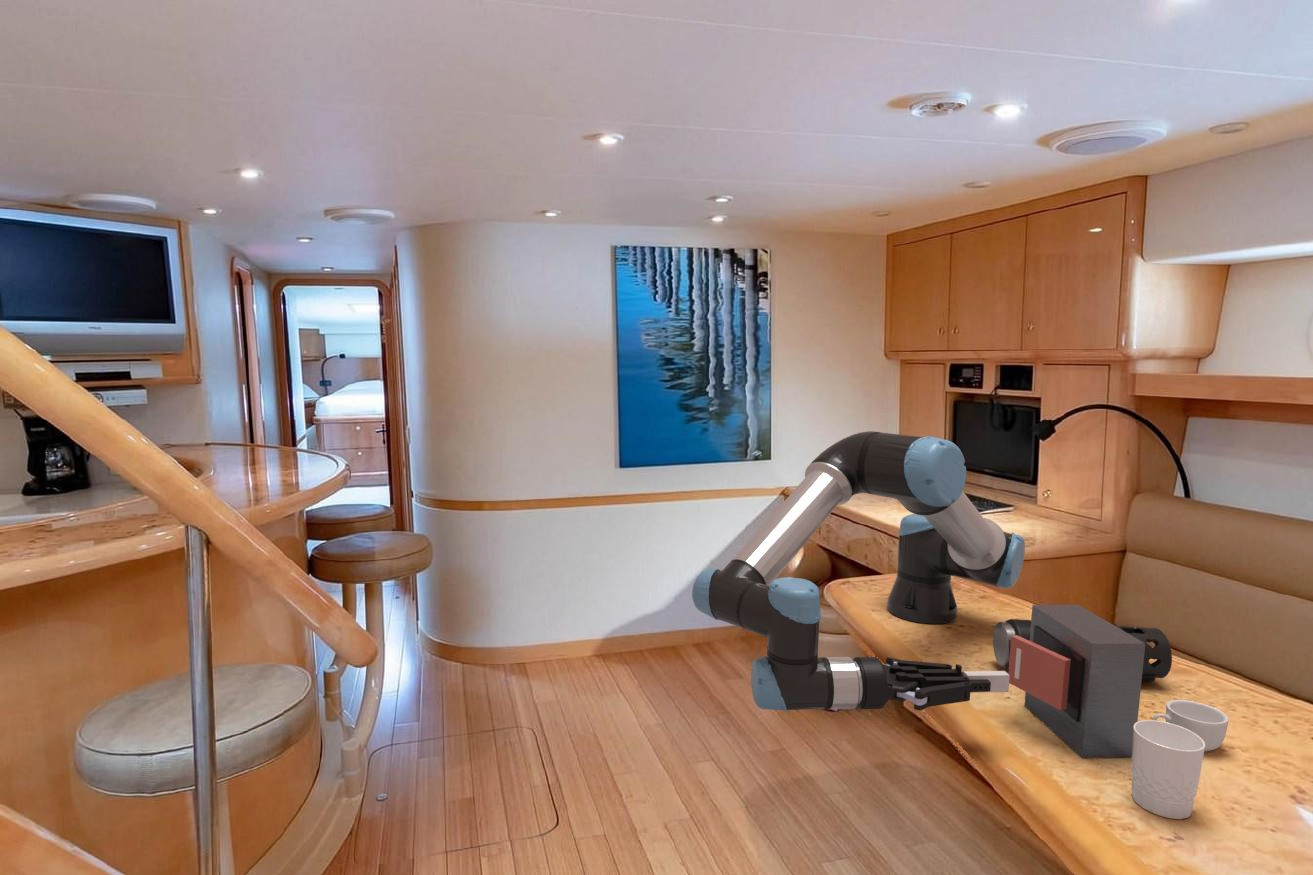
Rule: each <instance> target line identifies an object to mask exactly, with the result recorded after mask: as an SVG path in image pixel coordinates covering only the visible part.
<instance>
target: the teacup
mask: <svg viewBox="0 0 1313 875" xmlns="http://www.w3.org/2000/svg"><path fill="white" fill-rule="evenodd" d="M1159 718H1163V719H1164V720H1165V722H1168V723H1171V724H1175V725H1178V726H1181V727H1183V728H1186V729H1188V730H1190V731H1192V732H1193V733H1195V734H1197V735H1198V736H1199V737H1201V738H1202V739H1203V741H1204V742H1205V750H1204V752H1211V751H1214V750H1216V749H1218V748H1219V747H1221V745H1222V744H1223V743H1224V740H1225V738H1226V735H1227V730H1228V725H1229V717H1228V715H1227V714H1226V712H1225V713H1224V712H1223V711H1221V710H1220V709H1218V708H1216V707H1214V706H1211V705H1210V704H1209V705H1208V704H1205V703H1202V702H1198V701H1195V700H1194V701H1193V700H1189V699H1171V700H1168V701H1167V702H1166V704H1165V713H1156V714H1155V715H1154V716H1153V718H1152V720H1157V721H1158V719H1159Z"/></svg>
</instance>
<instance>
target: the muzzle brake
mask: <svg viewBox="0 0 1313 875" xmlns="http://www.w3.org/2000/svg"><path fill="white" fill-rule="evenodd" d="M1115 626H1116V627H1118V628H1119V629H1121V630H1123V631H1125V632H1126V633H1128V634H1130V635H1132V636H1133V637H1135V638H1137V639H1138V640H1140V641H1142V642H1144V643H1145V652H1144V662H1143V672H1142V681H1144V682H1145V681H1146V682H1155V680H1156V679H1164V678H1166V677H1167V676H1168V675H1169V673H1170V671H1171V668H1172V663H1173V654H1172V647H1171V644H1170V642H1169V639H1168V638H1167V636H1166V634H1165V633H1164V632H1163V631H1162V630H1161V629H1160V628H1157V627H1148V626H1147V627H1143V626H1125V625H1124V626H1123V625H1115ZM1030 629H1031V619H1022V618H1021V619H1020V618H1019V619H1015V618H1010V619H1007V620H1005V621H1004V622H1003V621H998V622H997V623H996V624H995V626H994V628H993V632H992V647H993V648H992V650H993V653H994V657H995V660H996V662H997V664H998V666H1000V667H1002V668H1008V669H1009V660H1010V647H1011V636H1015V635H1018V636H1020V637H1022V638H1024V639H1026V640H1029V641H1030ZM1149 643H1153V644H1154V646H1151V645H1150V644H1149ZM1150 660H1155V661H1153V662H1150Z"/></svg>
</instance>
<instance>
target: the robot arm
mask: <svg viewBox="0 0 1313 875" xmlns="http://www.w3.org/2000/svg"><path fill="white" fill-rule="evenodd" d="M965 462H966V460H965V457H964V455H963V452H962V451H961V449H960V447H959V446H957V445H956V444H955V443H954V442H952V441H950V440H948V439H943V438H940V437H937V436H931V435H930V436H927V435H926V436H918V435H917V436H916V435H915V436H914V435H908V434H906V435H905V434H896V433H888V432H880V431H874V430H872V431H871V430H870V431H868V430H867V431H862V432H857V433H855V434H851V435H849V436H847V437H844V438H842V439H840V440H838V441H837V442H835V443H833V444H832V445H830V446H829V447H827V448H826V449H825V450H823V451H822V452H821V453H820V454H818V456H816V457H815V458H814V460H812V462H811V463H810V464H809V465H808V466H807V467H806V469H805V471H804V478H803V479H802V481H800V483H799V484H798V485H797V486H796V488H795V489H794V490H793V491H792V492H791V493H790V495H789V496H788V497H787V498H786V499H785V500H784V501H783V502H782V503H781V505H780V506H779V507H778V508H777V509H776V510H775V511H774V512H773V513H772V514H771V515H770V516H769V518H768V519H767V520H766V521H765V522H763V525H762V526H761V527H760V528H759V529H758V530H757V531H756V532H755V533H754V535H753V536H752V537H750V539H749V540H748V541H747V542H746V543H745V544H744V546H743V547H742V548H741V549H740V551H739V552H737V554H736V555H735V556H734V557H733V558H732V559H731V560H730V562H729V563H728V564H727V565H726V566H725V567H724V568H723V569H722V570H721V569H719V568H707V569H705V570H703V571H701V572H700V573H699V574H698V575H697V577H696V578H695V581H694V583H693V585H692V592H691V594H692V595H691V597H692V601H693V604H694V606H695V608H696V609H697V611H699V612H701V613H702V614H704V615H707V616H708V617H710V618H713V619H714V620H717V621H722V622H725V623H727V624H730V625H732V626H736V627H740V628H741V629H744V630H747V631H749V632H751V633H755V634H757V635H760V636H762V637H765V638H766V640H767V647H766V648H767V649H766V656H762V657H757V658H754V659H753V661H752V664H751V671H750V675H751V676H750V681H751V684H750V685H751V691H752V692H751V693H752V698H753V700H754V703H755V705H756V706H757V707H758V708H759V709H762V710H771V711H784V712H788V711H800V710H802V711H803V710H832V711H835V712H837V711H838V710H854V709H856V708H858V709H859V710H882V709H883V708H884V707H885V706H886V704H887V702H888V701H897V702H906V701H909V702H911V703H913V709H914V710H916V711H923V710H925V709H928V708H930V707H937V706H944V705H950V704H956V703H957V704H958V703H963V702H969V701H970V700H971V694H972V693H1009V689H1010V688H1009V686H1010V683H1009V677H1010V675H1009V674H1008V673H1009V672H1007V671H1006V670H974V671H973V670H972V671H971V670H969V671H968V670H966V671H963V670H962V668H963V666H962V665H960V664H955V668H953V665H951V664H949V663H938V662H937V663H936V662H927V661H918V660H917V661H916V660H915V661H914V660H906V659H905V660H904V659H898V658H894V657H885V664H883V662H882V661H881V659H879V658H878V657H876V656H855V657H854V658H852V657H850V656H831V657H830V656H828V657H827V656H826V657H825V656H824V657H823V656H821V657H819V641H820V640H819V638H820V637H819V636H820V623H821V622H820V621H821V620H820V619H821V616H822V615H821V614H822V612H821V608H820V607H821V606H820V604H821V602H820V601H821V598H820V597H821V596H820V594H821V593H820V589H819V587H818V586H817V585H816V584H815V583H813V582H812V581H811V580H808V579H804V578H801V577H800V578H797V577H790V576H788V577H787V576H786V577H779V576H780V574H782V572H783V571H784V570H785V568H787V566H788V565H789V564H790V563H791V561H792V560H794V558H795V557H796V555H797V554H798V553H799V552H800V551H801V549H802V548H803V547H804V546H805V545H806V544H807V543H808V541H809V540H810V539H811V537H812V536H813V535H814V534H815V532H816V531H817V530H818V529H819V528H820V527H821V525H822V524H823V523H824V522H825V520H827V519H828V517H829V515H831V513H832V512H833V511H834V510H835V508H837V506H840V505H844V504H847V503H848V501H850V500H851V498H852V497H853V496H855V495H859V494H868V495H874V496H878V497H883V498H889V499H894V500H896V501H898V502H899V503H900V504H901V505H902V506H903V507H904V509H906V511H909V512H910V513H911V514H907V515H905V516H904V517H902V519H901V520H900V524H899V531H898V532H899V533H898V535H897V536H898V548H897V549H898V550H897V572H896V578H895V581H894V583H893V586H892V588H891V591H890V592H889V596H888V598H887V606H886V607H887V610H888V612H890V614H892V615H893V616H896V617H898V618H901V619H903V620H907V621H910V622H915V623H920V624H932V625H933V624H934V625H937V624H947V623H951V622H954V621H955V620H956V619H957V617H958V616H957V615H958V605H957V602H956V599H955V598H956V597H955V595H954V591H953V587H952V583H951V582H952V580H951V578H952V577H957V578H960V579H965V580H968V581H973V582H976V583H982V584H985V585H989V586H993V587H994V588H1002V589H1003V588H1004V589H1010V588H1012V587H1014V586H1015V585H1016V583H1017V582H1018V580H1019V577H1020V574H1021V571H1022V568H1023V564H1024V560H1025V559H1024V558H1025V552H1026V551H1025V550H1026V543H1025V539H1024V537H1023V536H1022V535H1020V534H1016V533H1015V532H1011V533H1010V532H1006V531H1004V530H1003V529H1002V527H1001V526H1000V525H999V524H998V523H996V522H995V521H993V520H991V519H989V518H986V517H984V516H983V515H982V514H981V512H980V511H979V510H978V509H977V508H976V506H975V505H974V503H972V501H971V500H970V499H969V497H968V496H967V494H965V492H964V488H965V486H966V481H967V467H966V466H965ZM778 577H779V578H778Z"/></svg>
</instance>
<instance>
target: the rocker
mask: <svg viewBox="0 0 1313 875" xmlns="http://www.w3.org/2000/svg"><path fill="white" fill-rule="evenodd" d="M1070 663H1071V660H1070V659H1068V658H1066V657H1064V656H1062V655H1059V654H1057V653H1055V652H1053V651H1051V650H1048V649H1046V648H1044V647H1042V646H1040V645H1037V644H1035V643H1033V642H1031V641H1029V640H1026V639H1024V638H1022V637H1020V636H1018V635H1015V636H1011V647H1010V660H1009V668H1008V672H1007V673H1008V674H1009V675H1010V677H1009V685H1012V686H1013V687H1016V688H1018V689H1019V690H1021V691H1024V692H1027V693H1029V694H1031V695H1033V696H1034V697H1036V698H1038V699H1040V700H1042V701H1044V702H1046V703H1048V704H1049V705H1051V706H1053V707H1055V708H1057V709H1059V710H1065V709H1066V708H1067V697H1068V685H1069V674H1070Z"/></svg>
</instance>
